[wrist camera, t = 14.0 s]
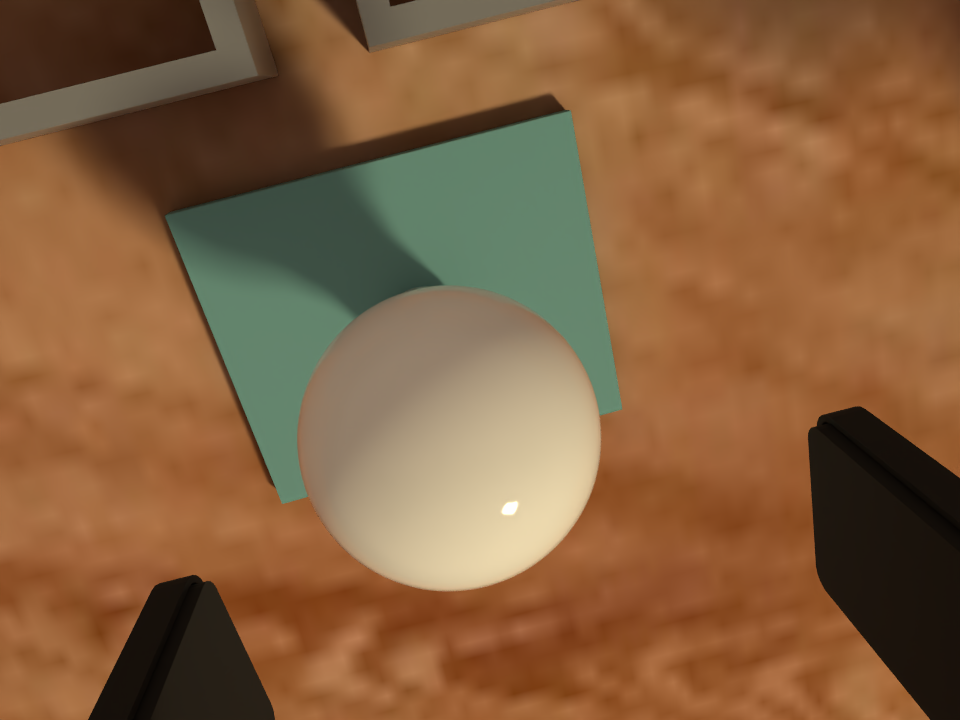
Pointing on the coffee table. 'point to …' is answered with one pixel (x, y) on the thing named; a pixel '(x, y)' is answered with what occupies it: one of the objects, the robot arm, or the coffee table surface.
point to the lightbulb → (449, 438)
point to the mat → (392, 260)
